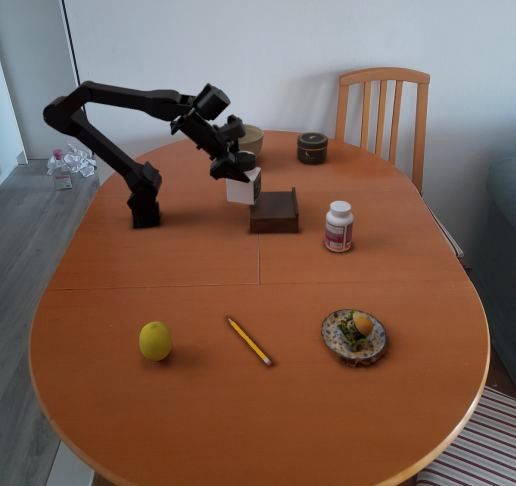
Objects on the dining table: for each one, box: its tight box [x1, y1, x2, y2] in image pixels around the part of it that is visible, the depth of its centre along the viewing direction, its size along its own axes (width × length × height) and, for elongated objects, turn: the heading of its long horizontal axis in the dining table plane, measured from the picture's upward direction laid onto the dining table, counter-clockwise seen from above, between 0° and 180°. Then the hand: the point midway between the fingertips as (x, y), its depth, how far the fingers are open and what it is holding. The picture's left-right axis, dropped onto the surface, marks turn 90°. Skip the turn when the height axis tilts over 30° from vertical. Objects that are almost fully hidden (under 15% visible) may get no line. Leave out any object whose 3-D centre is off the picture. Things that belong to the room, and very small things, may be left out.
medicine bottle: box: [225, 151, 262, 206], centre depth 111 cm, size 7×7×12 cm
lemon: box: [138, 321, 173, 362], centre depth 77 cm, size 6×6×8 cm
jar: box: [296, 131, 329, 165], centre depth 146 cm, size 10×10×8 cm
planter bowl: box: [239, 123, 265, 159], centre depth 143 cm, size 16×16×11 cm
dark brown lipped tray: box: [249, 186, 300, 234], centre depth 115 cm, size 12×13×6 cm
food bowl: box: [320, 308, 388, 367], centre depth 80 cm, size 12×12×8 cm
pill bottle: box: [324, 200, 354, 253], centre depth 104 cm, size 6×6×11 cm
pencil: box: [227, 318, 273, 367], centre depth 81 cm, size 1×13×1 cm, turn 37°
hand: (249, 173), depth 110 cm, fingers closed on medicine bottle, 8 cm apart
